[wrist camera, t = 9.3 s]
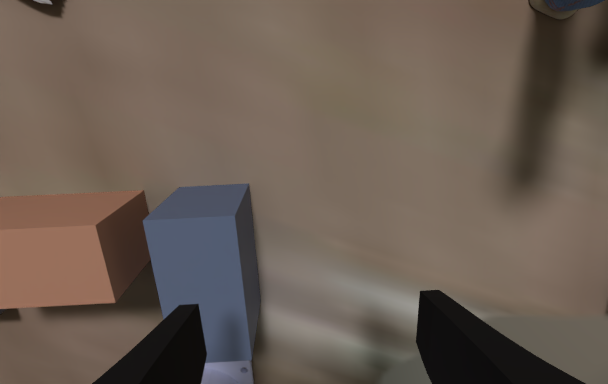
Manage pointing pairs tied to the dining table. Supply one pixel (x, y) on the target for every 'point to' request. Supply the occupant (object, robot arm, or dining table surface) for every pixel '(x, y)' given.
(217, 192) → the navy brick
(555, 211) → the dining table surface
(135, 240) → the terracotta brick
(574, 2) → the doll family
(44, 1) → the food package
